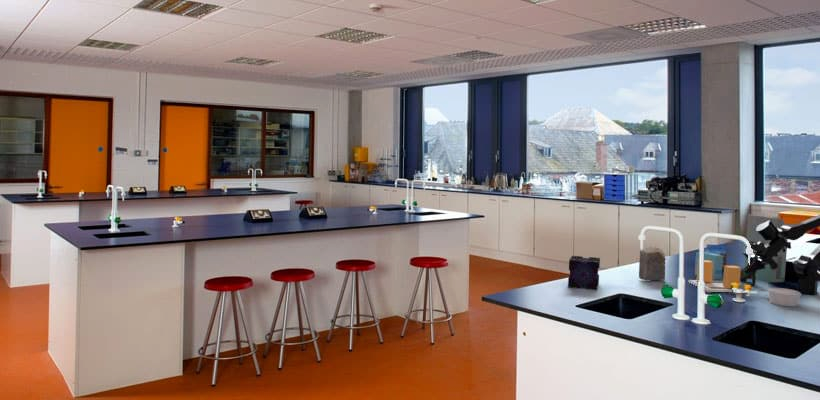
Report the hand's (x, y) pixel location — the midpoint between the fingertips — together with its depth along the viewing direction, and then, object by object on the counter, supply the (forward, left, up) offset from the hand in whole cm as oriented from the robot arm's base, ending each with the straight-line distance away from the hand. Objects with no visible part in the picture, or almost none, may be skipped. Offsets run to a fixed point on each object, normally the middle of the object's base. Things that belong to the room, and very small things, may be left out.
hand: (744, 272), depth 266 cm
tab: (+16, +1, -6) cm, 18 cm away
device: (+6, -38, -8) cm, 40 cm away
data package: (+22, -15, -8) cm, 28 cm away
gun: (+7, -21, -9) cm, 24 cm away
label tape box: (+31, -43, -8) cm, 54 cm away
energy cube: (+46, +50, -8) cm, 69 cm away
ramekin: (-19, +9, -9) cm, 22 cm away
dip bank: (+10, +3, -8) cm, 13 cm away
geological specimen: (+35, +13, -8) cm, 38 cm away
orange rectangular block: (+3, +4, -6) cm, 8 cm away
